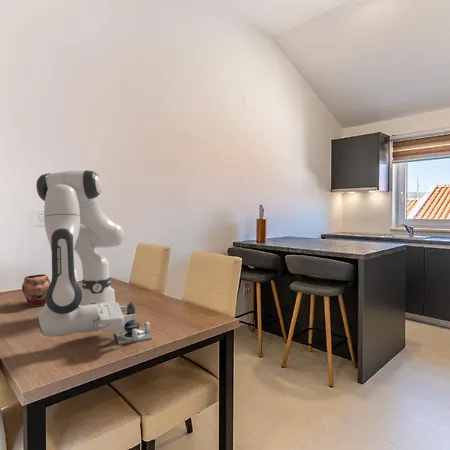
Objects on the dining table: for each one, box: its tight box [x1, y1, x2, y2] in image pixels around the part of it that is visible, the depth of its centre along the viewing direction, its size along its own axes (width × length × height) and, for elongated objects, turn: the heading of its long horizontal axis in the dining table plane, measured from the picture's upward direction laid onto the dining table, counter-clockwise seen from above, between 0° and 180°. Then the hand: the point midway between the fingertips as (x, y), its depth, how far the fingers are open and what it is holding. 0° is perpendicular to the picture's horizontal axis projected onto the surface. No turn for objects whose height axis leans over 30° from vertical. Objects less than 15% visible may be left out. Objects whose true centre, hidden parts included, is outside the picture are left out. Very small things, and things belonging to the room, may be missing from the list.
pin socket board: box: [114, 321, 153, 345], centre depth 120 cm, size 12×11×4 cm
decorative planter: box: [21, 273, 51, 307], centre depth 164 cm, size 20×12×14 cm, turn 43°
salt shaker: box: [123, 301, 141, 337], centre depth 119 cm, size 6×6×12 cm
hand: (134, 312), depth 120 cm, fingers open, 8 cm apart
